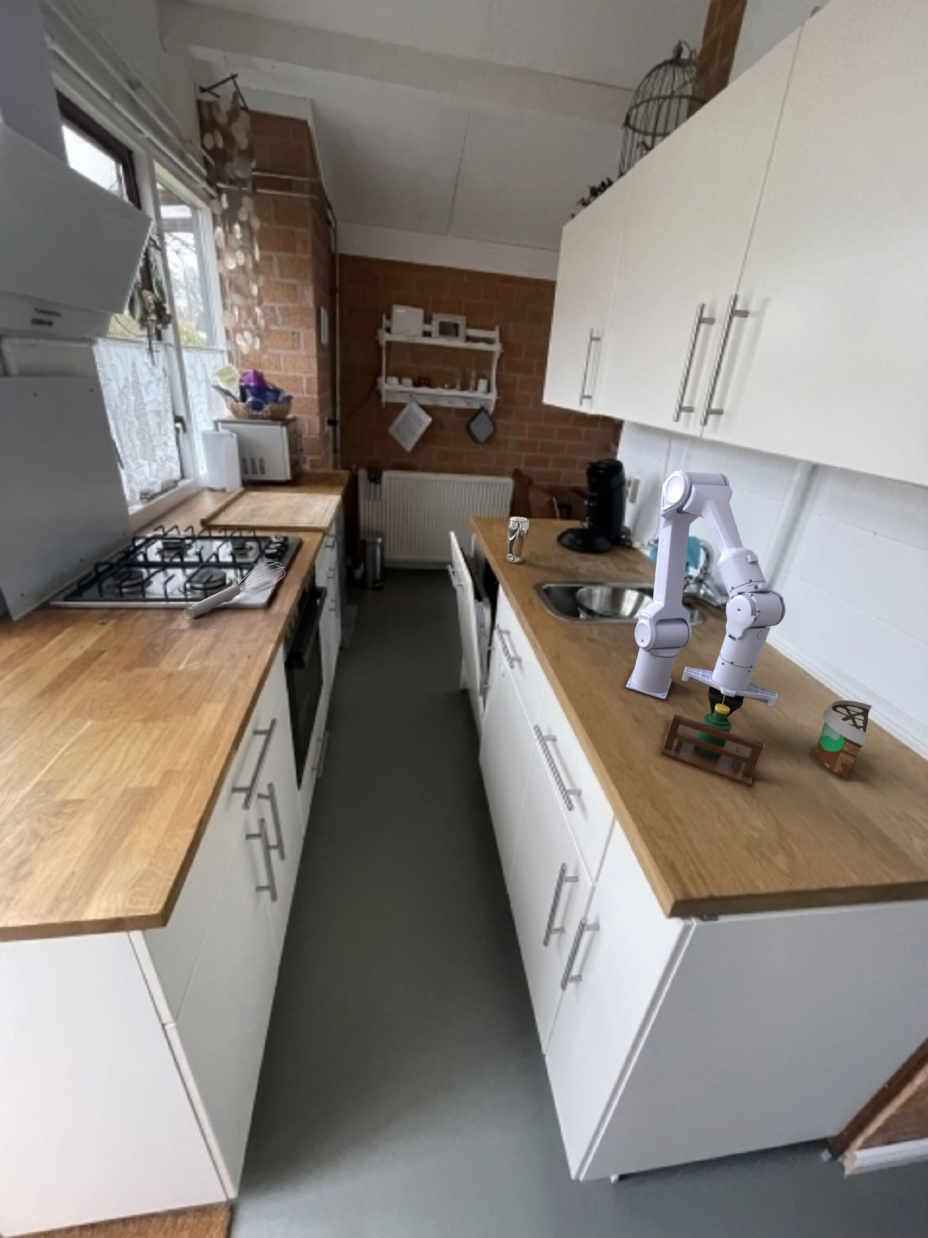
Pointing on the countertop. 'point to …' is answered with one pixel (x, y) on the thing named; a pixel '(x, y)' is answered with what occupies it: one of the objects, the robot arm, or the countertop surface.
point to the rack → (734, 755)
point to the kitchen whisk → (223, 596)
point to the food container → (842, 736)
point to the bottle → (716, 721)
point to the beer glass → (516, 538)
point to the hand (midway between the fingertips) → (714, 725)
